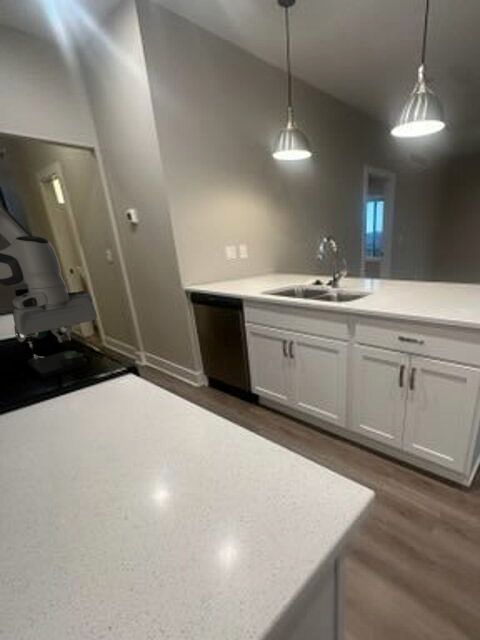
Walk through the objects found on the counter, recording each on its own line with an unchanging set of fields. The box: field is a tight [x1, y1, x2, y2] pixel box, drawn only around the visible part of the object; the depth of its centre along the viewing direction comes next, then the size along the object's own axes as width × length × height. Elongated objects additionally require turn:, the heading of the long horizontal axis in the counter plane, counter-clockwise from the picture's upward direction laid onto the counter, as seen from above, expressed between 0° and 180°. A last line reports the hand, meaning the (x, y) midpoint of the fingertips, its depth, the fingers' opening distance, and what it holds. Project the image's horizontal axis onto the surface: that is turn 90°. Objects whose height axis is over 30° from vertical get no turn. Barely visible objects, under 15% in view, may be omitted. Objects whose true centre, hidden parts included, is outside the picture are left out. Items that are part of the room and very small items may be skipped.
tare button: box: [64, 350, 78, 359], centre depth 106 cm, size 3×3×2 cm
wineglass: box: [13, 325, 45, 362], centre depth 112 cm, size 6×6×12 cm
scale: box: [27, 350, 89, 379], centre depth 108 cm, size 12×16×3 cm
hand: (65, 341), depth 104 cm, fingers closed
